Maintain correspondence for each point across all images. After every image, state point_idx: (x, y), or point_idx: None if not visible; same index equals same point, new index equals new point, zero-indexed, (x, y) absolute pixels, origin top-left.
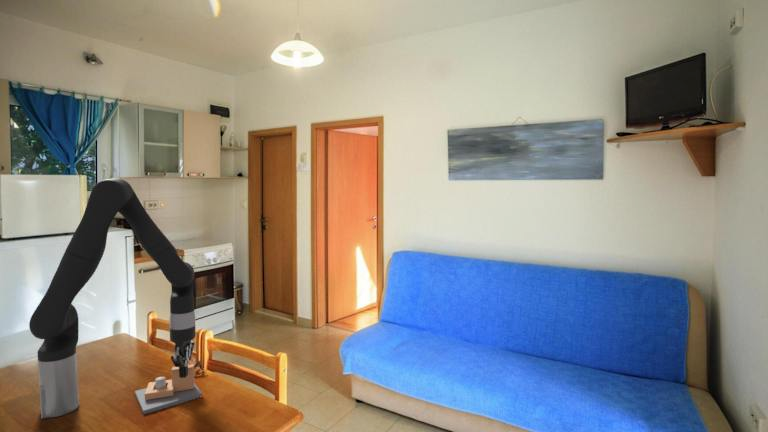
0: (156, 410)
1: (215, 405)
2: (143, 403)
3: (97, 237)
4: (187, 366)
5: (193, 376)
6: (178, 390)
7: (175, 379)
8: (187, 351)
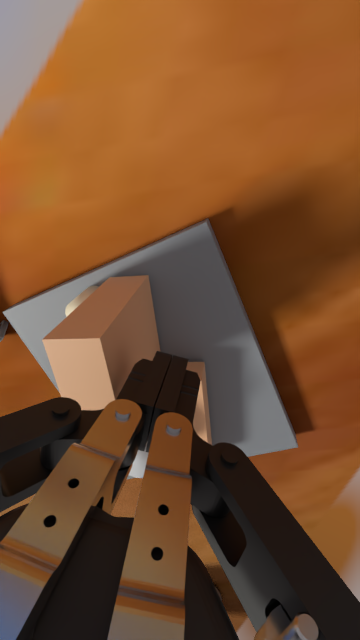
0: (280, 398)
1: (350, 111)
2: None
3: None
4: (143, 393)
5: (125, 304)
6: (159, 345)
7: None
8: (136, 575)
